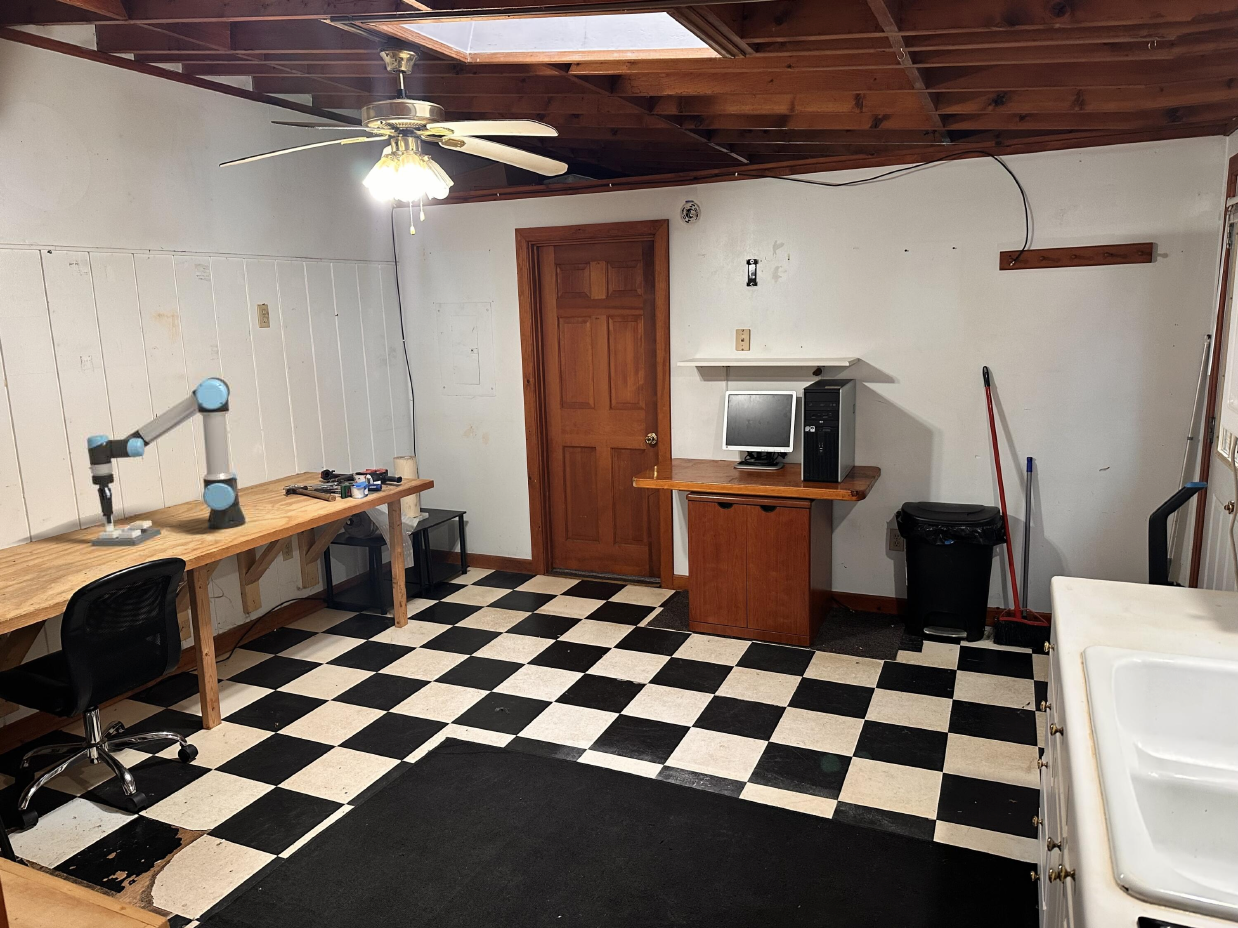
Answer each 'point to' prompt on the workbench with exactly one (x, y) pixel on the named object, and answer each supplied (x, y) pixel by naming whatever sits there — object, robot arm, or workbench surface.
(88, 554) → the workbench surface
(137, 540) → the keypad board
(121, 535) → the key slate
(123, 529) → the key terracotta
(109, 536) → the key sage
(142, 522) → the cream key cap
